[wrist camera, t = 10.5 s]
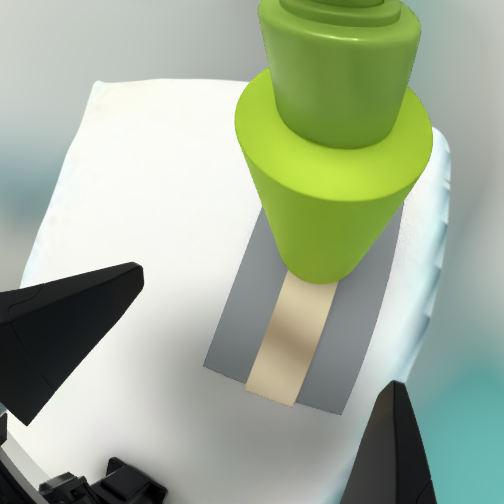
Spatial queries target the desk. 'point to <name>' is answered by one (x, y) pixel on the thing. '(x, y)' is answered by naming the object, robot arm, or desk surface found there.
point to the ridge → (290, 339)
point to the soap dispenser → (333, 128)
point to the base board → (335, 328)
